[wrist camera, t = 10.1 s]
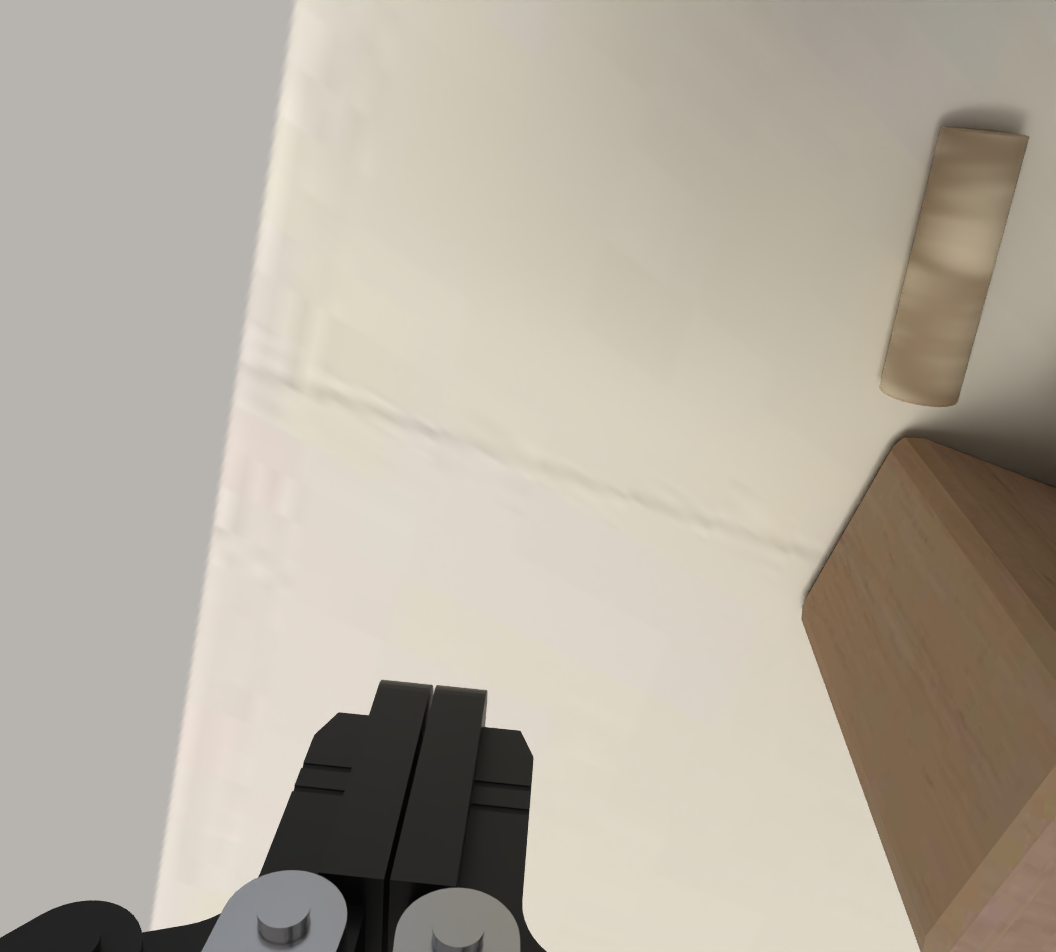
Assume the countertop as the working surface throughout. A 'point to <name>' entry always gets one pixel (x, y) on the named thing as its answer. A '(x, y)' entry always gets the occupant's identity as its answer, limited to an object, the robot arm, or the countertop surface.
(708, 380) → the countertop surface
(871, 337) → the countertop surface
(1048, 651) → the wooden block
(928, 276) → the roller
